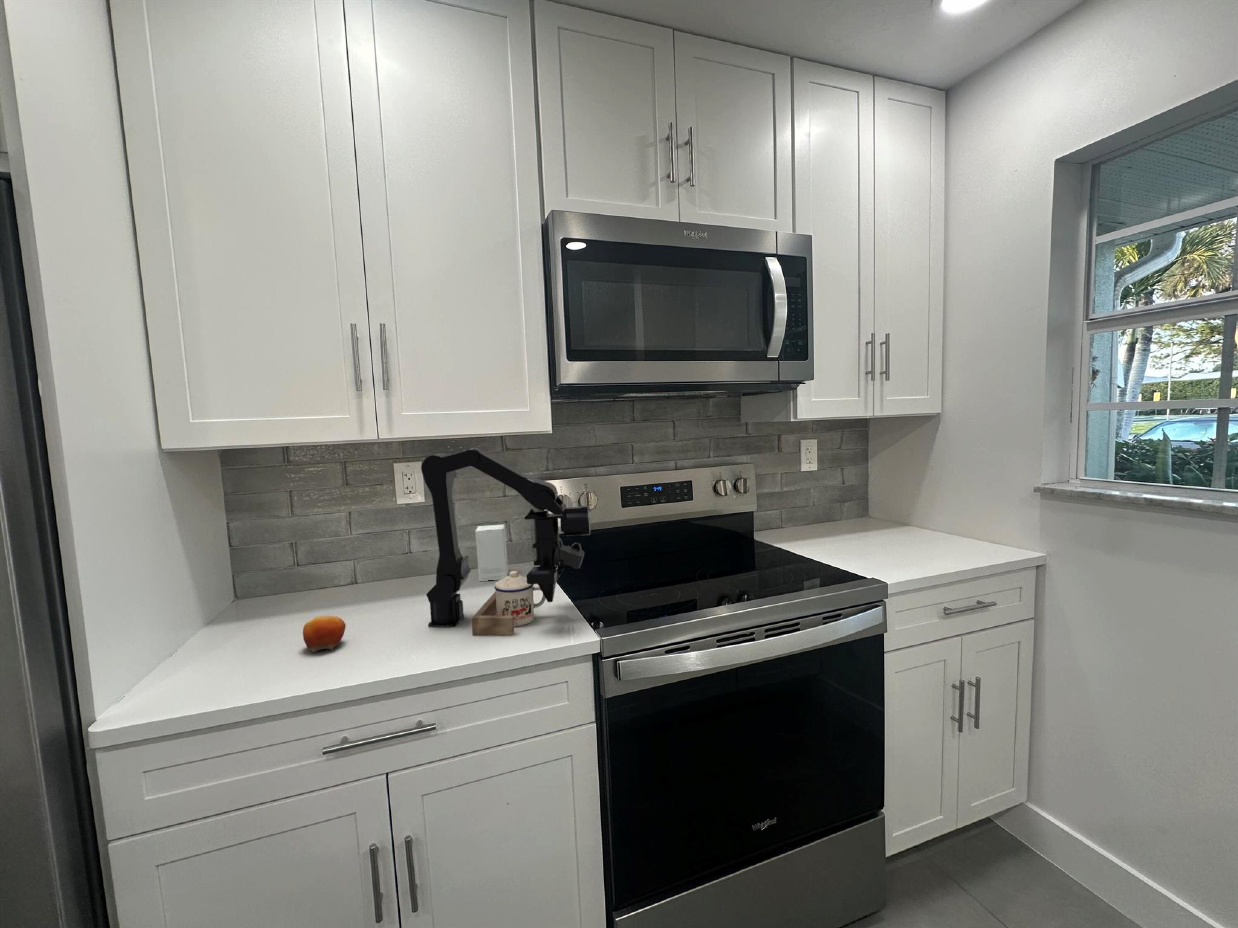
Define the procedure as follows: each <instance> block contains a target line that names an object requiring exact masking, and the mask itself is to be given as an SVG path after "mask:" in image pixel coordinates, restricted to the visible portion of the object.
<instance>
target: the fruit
mask: <svg viewBox="0 0 1238 928" xmlns="http://www.w3.org/2000/svg"><path fill="white" fill-rule="evenodd" d="M346 625H347V624H346V622H345V621H344V620H343V619H342V618H341V617H339V616H338V615H337V616H335V615H319V616H316V617H314V618H313V619H311V620H310V621H308V622H306V623H305V624H304V625H303V629H302V637H303V638H302V639H303V641H304V644H305V645H306V648H307V649H308V650H309V651H310V652H311V651H312V653H313V655H314V653H316V652H317V651H320V650H323V649H325V650H326V649H327V650H332V651H333V652H335V650H334V648H335V647H336V646H337V645H339V644H340V642H341V641H342V639H343V637H344V635H345V631H346Z"/></svg>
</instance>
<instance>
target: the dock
mask: <svg viewBox="0 0 1238 928" xmlns="http://www.w3.org/2000/svg"><path fill="white" fill-rule="evenodd" d="M496 613H497V608H496V590H495V591H494V592H493V594H492V595H490V597H489V598H488V599H486V601H485V602H484V603H483V605H481V607H480V608H479V609H478V610H477V611H476V613H475V614H474V615H473V616H472V617H471V630H472V631H471V633H472V635H486V636H487V635H500V637H503V635H504V637H506V635H507V637H509V636H510V637H511V636H512V637H513V636H514V635H515V626H514V616H497V614H496ZM501 635H502V636H501ZM508 635H509V636H508ZM486 636H485V637H486Z"/></svg>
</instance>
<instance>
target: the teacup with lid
mask: <svg viewBox="0 0 1238 928" xmlns="http://www.w3.org/2000/svg"><path fill="white" fill-rule="evenodd" d="M493 588H494V590H495V591H496V608H497V614H496V616H514V627H520V626H525V625H527V624H530V623H531V622H533V620H534V618H535V609H536V608H540V607H542V605H544V604H545V601H546V598H545V596H544V594H543V593H542V598H541V600H540V601H539V602H538V603H534V602H535V601H534V591H541V589H540V587H539V585H538V586H535V584H527V576H523V575H521V574H519V572H518V571H515V570H512V571H510V572H508V576H507V577H505V578H504V579H501V580H496V582H495V584H494V586H493Z"/></svg>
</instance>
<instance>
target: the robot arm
mask: <svg viewBox="0 0 1238 928" xmlns="http://www.w3.org/2000/svg"><path fill="white" fill-rule="evenodd" d="M467 467H473V468H474V469H476V470H478V471H479V472H482V473H483V474H485V475H487V476H489V477H491V478H492V479H494V480H496V481H497V482H499V483H502V484H504V485H505V486H507V487H509V488H510V489H513V490H515V492H517V493H518V494H519V495H520V496H521V497H522V498H523V499H524V500H525V501H526V502H528V503H529V504H530V505H531V506H533V507H531V508H530V510H529V511H528V512H527V514H526V515H525V516H524V518H523V519H524V520H527V521H528V520H533V534H534V537H533V538H534V542H533V543H532V548H533V549H534V551H535V555H534V557H535V559H534V560H533V567H532V568H531V569H530V570H529V571H528V573H527V574H526V576H525V577H527V584H534V585H538V586H539V587H540V589H541V590H540V592H541V593H542V595H543V594H544V596H545V598H546V599H545V601H547V602H548V603H552V602H553V601H554V597H555V590H556V586H557V585H556V584H557V580H558V579H559V578H560V576H561V574H562V572H563V571H564V568H562V567H561V568H560V567H559V566H560V565H561V564H563V565H566V566H569V567H571V568H573V569H575V570H579V569H580V568H581V565H582V563H583V559H584V556H585V550H582V545H581V543H580V542H579V543H578V542H574V543H573V544H572V545H571V546H570V545H565V544H563V540H562V538H560V532H561V533H562V534H563V535H564V534H565V536H566V537H572V536H573V537H575V536H590V535H591V518H590V512H589V505H581V506H573V507H571V506H570V507H567V505H566V503H565V502H564V501H563V500H562V499H561V498H560V497H559V493H558V489H557V487H556V486H555V484H553V483H551V482H549V481H546V480H543V479H540V478H536V477H532V476H529V475H526V474H524V473H522V472H520V471H519V470H516V469H515V468H514V467H511V466H510V465H507V464H506V463H504V462H502V461H501V460H499V459H497V458H495V457H493V456H492V455H490V454H488V453H486V452H484V451H483V450H482V449H481V448H479V447H472V448H468V449H466V450H464V451H462V452H458V453H454V454H450V455H449V454H447V453H438V454H432V455H429V456H427V457H426V458H425V459H424V460H423V461H422V463H421V465H420V470H421V474H422V476H423V480H424V483H425V485H426V487H427V489H428V490H429V493H430V494H431V499H432V500H431V501H432V506H433V515H434V523H435V528H436V539H437V546H438V552H439V553H438V555H439V556H438V562H437V566H436V572H435V573H436V574H435V575H436V576H435V584H434V586H433V587H431V588H430V590H429V591H428V592H427V593H426V595H425V596H426V598H427V600H428V603H429V606H430V607H429V610H430V621H429V622H428V624H427V626H428V627H455V626H457V625H458V624H459V622H460V621H462V620H463V618H465V614H464V602H463V600H462V598H461V593H458V592H459V591H460V590H461V587H462V586H463V585H464V583H466V581H467V580H468V578H469V574H470V573H471V571H472V570H471V568H470V565H469V564H470V563H469V561H470V557H469V555H465V556H463V555H462V553H461V551H460V548H459V540H458V533H457V524H456V515H455V508H454V507H455V506H454V501H453V486H454V482H455V471H458V470H460V469H465V468H467ZM559 519H560V527H559ZM559 528H560V531H559Z"/></svg>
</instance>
